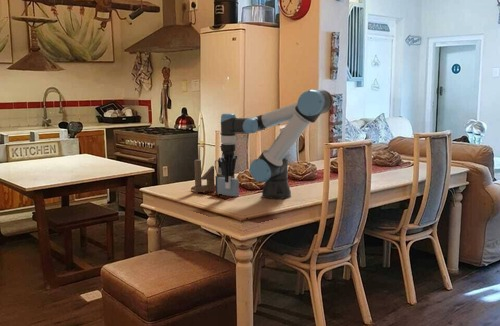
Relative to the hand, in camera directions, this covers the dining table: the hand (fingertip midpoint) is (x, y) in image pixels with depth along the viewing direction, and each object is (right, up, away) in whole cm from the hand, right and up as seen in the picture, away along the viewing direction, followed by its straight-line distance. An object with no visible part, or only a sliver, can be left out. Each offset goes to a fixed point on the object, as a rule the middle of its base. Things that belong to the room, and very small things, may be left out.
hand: (228, 188), depth 274 cm
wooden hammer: (-14, -3, +15) cm, 20 cm away
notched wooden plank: (-2, -3, +13) cm, 14 cm away
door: (0, -4, +5) cm, 6 cm away
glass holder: (-5, +1, +38) cm, 38 cm away
